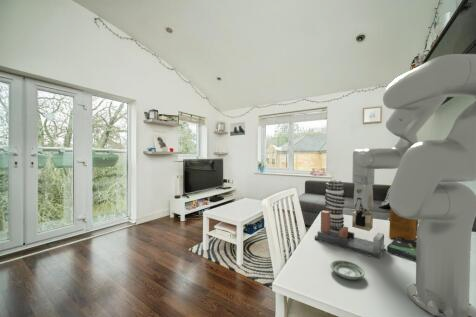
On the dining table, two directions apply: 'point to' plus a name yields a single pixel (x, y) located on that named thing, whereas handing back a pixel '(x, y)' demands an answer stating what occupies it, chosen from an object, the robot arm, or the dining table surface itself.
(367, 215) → the maple block
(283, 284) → the dining table surface
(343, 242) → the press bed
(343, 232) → the reddish brown stepped block
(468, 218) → the robot arm
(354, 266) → the saucer
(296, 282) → the dining table surface
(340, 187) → the decorative candle
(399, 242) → the disk drive
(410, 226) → the coffee package
